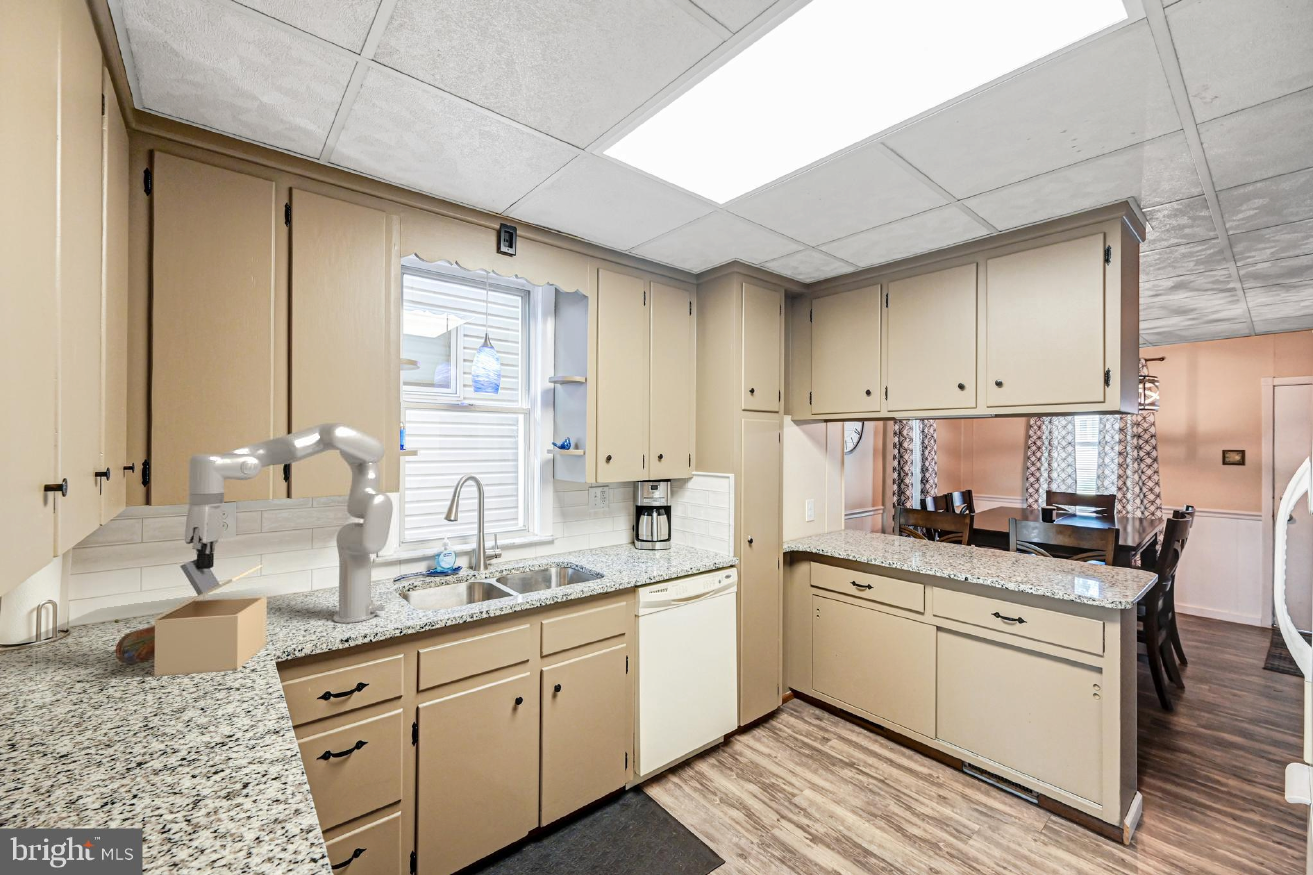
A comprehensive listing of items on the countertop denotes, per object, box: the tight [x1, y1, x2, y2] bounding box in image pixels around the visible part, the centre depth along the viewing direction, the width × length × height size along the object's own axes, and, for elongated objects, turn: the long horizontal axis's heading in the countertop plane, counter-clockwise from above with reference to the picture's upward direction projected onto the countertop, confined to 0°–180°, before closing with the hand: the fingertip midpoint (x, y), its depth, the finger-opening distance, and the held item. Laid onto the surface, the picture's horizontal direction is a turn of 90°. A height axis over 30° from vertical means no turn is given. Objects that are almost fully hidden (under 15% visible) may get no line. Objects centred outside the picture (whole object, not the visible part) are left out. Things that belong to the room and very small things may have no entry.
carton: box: [153, 596, 268, 677], centre depth 153 cm, size 18×18×14 cm
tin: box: [115, 624, 155, 665], centre depth 154 cm, size 15×3×8 cm, turn 168°
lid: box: [153, 558, 263, 621], centre depth 152 cm, size 19×18×10 cm
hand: (205, 568), depth 152 cm, fingers closed
